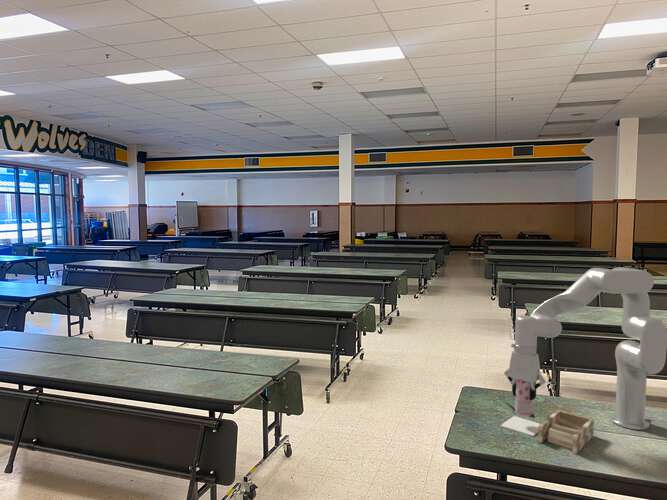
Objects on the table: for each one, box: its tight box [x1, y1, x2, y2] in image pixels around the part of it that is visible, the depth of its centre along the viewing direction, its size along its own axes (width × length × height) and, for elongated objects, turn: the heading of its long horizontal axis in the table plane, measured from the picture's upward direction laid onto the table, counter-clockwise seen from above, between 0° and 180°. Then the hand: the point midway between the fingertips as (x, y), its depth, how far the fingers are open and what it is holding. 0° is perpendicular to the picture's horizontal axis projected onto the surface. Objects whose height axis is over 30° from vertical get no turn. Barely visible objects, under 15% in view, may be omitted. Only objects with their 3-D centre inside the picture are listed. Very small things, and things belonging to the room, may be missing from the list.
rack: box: [537, 409, 595, 455], centre depth 166 cm, size 19×12×6 cm, turn 136°
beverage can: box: [514, 378, 533, 417], centre depth 175 cm, size 6×6×15 cm
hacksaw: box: [506, 401, 535, 418], centre depth 196 cm, size 24×10×2 cm, turn 1°
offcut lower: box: [547, 435, 573, 450], centre depth 164 cm, size 6×8×2 cm
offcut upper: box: [549, 424, 578, 443], centre depth 163 cm, size 6×8×2 cm
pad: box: [500, 415, 541, 438], centre depth 176 cm, size 12×12×1 cm
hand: (523, 396), depth 175 cm, fingers closed on beverage can, 5 cm apart
